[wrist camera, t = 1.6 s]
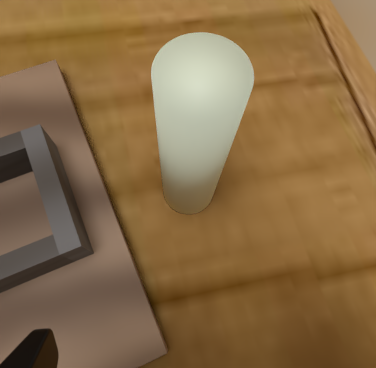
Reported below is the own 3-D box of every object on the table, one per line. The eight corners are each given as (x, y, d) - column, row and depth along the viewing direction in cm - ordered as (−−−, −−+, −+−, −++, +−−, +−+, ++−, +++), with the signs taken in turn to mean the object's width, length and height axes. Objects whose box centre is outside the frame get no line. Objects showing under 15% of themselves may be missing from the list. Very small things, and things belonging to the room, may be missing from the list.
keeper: (167, 349, 20) (166, 362, 16) (-33, 448, 18) (-95, 491, 14) (61, 72, 27) (40, 29, 23) (-97, 123, 25) (-153, 86, 21)
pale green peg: (190, 224, 23) (208, 138, 11) (152, 191, 24) (129, 74, 12) (223, 188, 24) (274, 71, 12) (186, 157, 25) (198, 16, 12)
